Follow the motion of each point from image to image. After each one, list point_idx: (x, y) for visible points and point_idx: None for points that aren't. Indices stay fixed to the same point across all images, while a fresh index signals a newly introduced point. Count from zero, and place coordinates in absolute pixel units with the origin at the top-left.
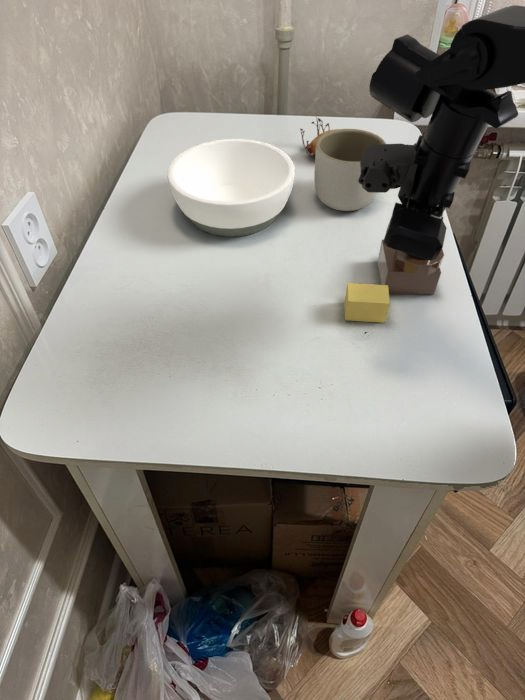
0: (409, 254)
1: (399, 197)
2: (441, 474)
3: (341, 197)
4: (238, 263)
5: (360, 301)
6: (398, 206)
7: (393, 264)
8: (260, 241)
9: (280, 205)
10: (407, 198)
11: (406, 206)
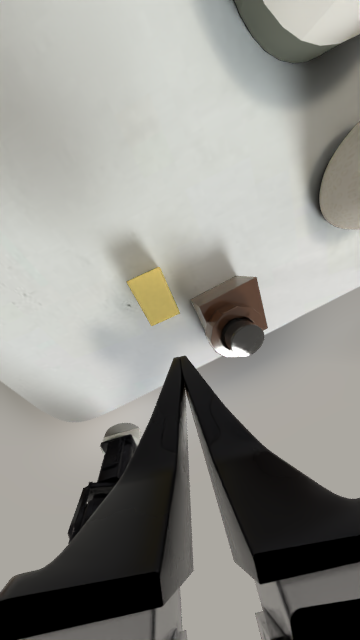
0: (226, 326)
1: (251, 548)
2: (34, 402)
3: (346, 173)
4: (152, 29)
5: (135, 296)
6: (120, 616)
7: (214, 307)
8: (226, 57)
9: (318, 1)
10: (249, 571)
11: (161, 601)
